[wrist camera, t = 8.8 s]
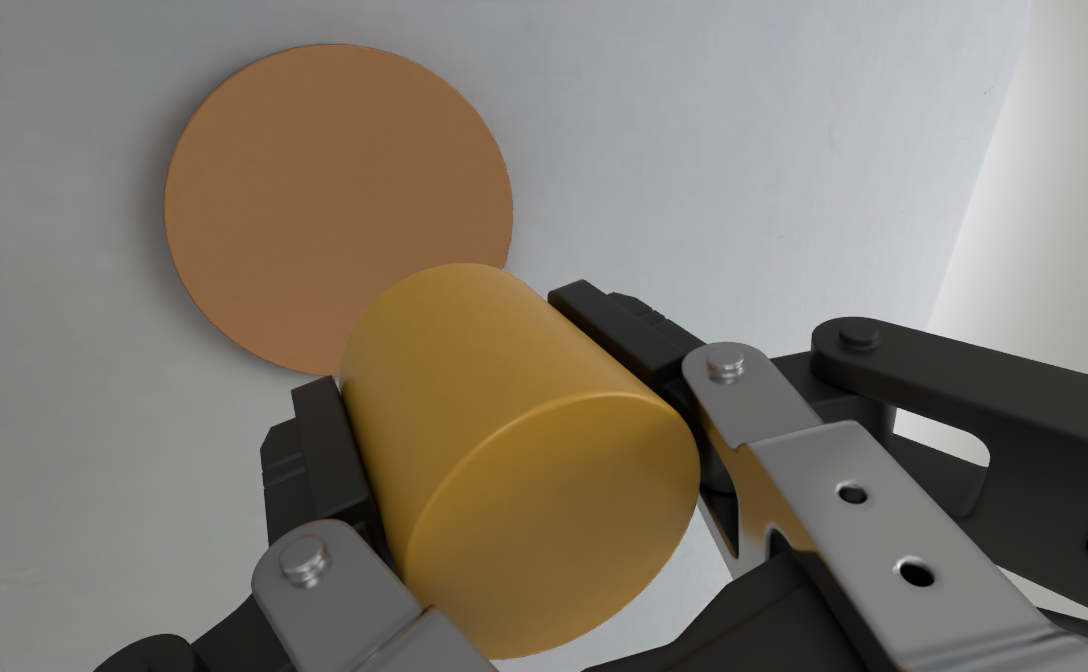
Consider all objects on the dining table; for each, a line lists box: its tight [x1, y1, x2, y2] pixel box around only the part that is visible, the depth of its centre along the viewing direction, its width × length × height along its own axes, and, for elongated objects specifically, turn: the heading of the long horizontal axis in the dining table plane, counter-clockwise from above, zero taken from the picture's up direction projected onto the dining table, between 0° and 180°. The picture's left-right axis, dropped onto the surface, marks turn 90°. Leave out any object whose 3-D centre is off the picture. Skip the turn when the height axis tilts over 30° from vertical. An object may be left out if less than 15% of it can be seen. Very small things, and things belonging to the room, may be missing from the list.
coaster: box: [163, 44, 513, 377], centre depth 20 cm, size 11×11×1 cm
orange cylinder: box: [339, 263, 701, 660], centre depth 10 cm, size 4×4×5 cm
